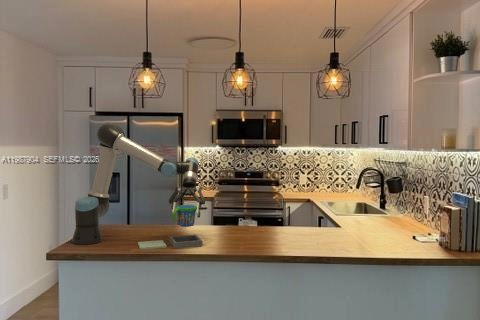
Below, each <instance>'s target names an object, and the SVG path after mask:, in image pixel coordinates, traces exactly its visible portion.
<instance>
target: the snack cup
mask: <svg viewBox="0 0 480 320" xmlns="http://www.w3.org/2000/svg"><path fill="white" fill-rule="evenodd" d="M196 212H197V205H194V204H182V205H181V204H180V205H176V208H175V210H174V212H173V213H172V221H173V222H176V213H177V218H178V219H177V220H178V224H179V226H180V227H183V228H191V227H194V225H195V221H196V219H195V218H196V217H197V218H200V217H201V210H199V214H198V216H197V215H196Z"/></svg>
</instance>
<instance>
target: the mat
mask: <svg viewBox="0 0 480 320" xmlns="http://www.w3.org/2000/svg"><path fill="white" fill-rule="evenodd" d="M137 245H138V247H139V248H138V249H139V250H140V251H143V250H153V249H154V250H155V249H167V244H166V243H165V241H164V239H160V240H148V241H137Z"/></svg>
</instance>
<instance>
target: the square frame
mask: <svg viewBox="0 0 480 320" xmlns="http://www.w3.org/2000/svg"><path fill="white" fill-rule="evenodd" d="M169 243H170V245H171V246H172V248H173V249H175V250H177V249H189V248H199V247H203V240H202V239H201V238H200V237H199V236H198V235H197V234H192V235H191V234H188V235H177V236H169Z"/></svg>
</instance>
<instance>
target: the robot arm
mask: <svg viewBox="0 0 480 320" xmlns="http://www.w3.org/2000/svg"><path fill="white" fill-rule="evenodd" d="M126 134H127V133H126V131H125V130H124V128H123V127H122V126H120V125H119V124H118V125H117V124H113V123H104V124H102V125H101V126H99V127H98V129H97V131H96V137H97V140H98V141H99V147H100V149H101V150H100V154H99V155H100V156H99V158H98V163H97V166H96V167H97V168H96V172H95V176H94V179H93V181H94V182H93V185H92V189H91V190H90V191H89V192H88V194H87V196H85V197H79V198H77V199H76V200H75V203H74V204H75V205H74V214H75V216H74V217H75V230H74V231H73V236H72V239H71V240H72V241H71V242H72V244H74V245H79V246H80V245H81V246H82V245H84V246H85V245H94V244H98V243H101V242H102V241H103V234H102V232H101V229H100V225H99V219H100V218H102V217H103V216H105V215H106V214H107V213H108V212H109V210H110V201H109V200H110V197H111V196H110V194H109V193H108V192H109V188H110V183H111V180H112V176H113V172H114V167H115V165H116V164H115V162H116V159H117V154H118V152H120V151H121V152H123V153H125V154H126V155H128V156H130V157H132V158H133V159H135V160H137V161H140V162H141V163H143V164H144V165H146V166H149V167H151V168H152V169H154V170H156V172H157V171H158V172H159V173H161V174H162V175H163V176H164V177H167V178H171V177H174V176H179V175H180V176H183V178H182V184H181V187H180V188H179V187H178V186H176V187H175V189H174V192H173V193H172V194H171V196H170V197H169V199H168V204H170V205H171V207H170V208H171V210H172V211H171V212H172V214H173V212H174V210H175V209H176V207H177V203H178V202H179V201H180V200H181V199H182V198H184V197H191V196H192V198H194V200H195V201H196V202H197V205H196V206H197V209H196V212H195V214H196V217H197V216H198V214H199V210H200V211H201V209H202V205H205V204H206V201H205V197H204V195H203V192H202V187H198V188H197V181H198V180H197V179H198V172H199V160H198V159H196V158H195V157H188V158H187V159H186V160H185V161H174V160H173V161H172V160H168V159H166V158H164V157H162V156H161V155H159V154H157V153H155V152H153V151H152V150H149V149H148V148H146V147H144V146H142V145H140V144H139V143H137V142H135V141H133V140H132V139H130V138H128V137H127V135H126ZM196 192H197V193H198V195H199V196H198V195H197V194H196Z"/></svg>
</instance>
